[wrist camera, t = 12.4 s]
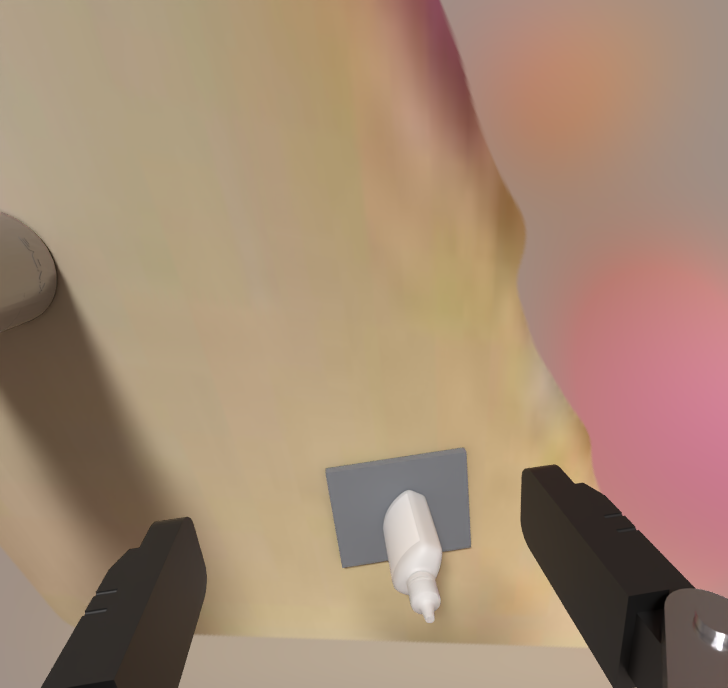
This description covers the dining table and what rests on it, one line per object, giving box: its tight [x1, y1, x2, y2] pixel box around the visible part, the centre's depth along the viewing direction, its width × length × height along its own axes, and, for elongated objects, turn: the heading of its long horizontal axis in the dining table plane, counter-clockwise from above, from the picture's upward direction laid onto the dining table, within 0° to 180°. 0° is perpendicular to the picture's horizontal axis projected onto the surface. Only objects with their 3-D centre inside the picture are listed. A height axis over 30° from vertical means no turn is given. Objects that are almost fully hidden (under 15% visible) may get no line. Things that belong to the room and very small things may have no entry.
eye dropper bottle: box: [383, 490, 442, 623], centre depth 38 cm, size 4×6×12 cm
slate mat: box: [326, 448, 471, 568], centre depth 44 cm, size 14×12×1 cm
